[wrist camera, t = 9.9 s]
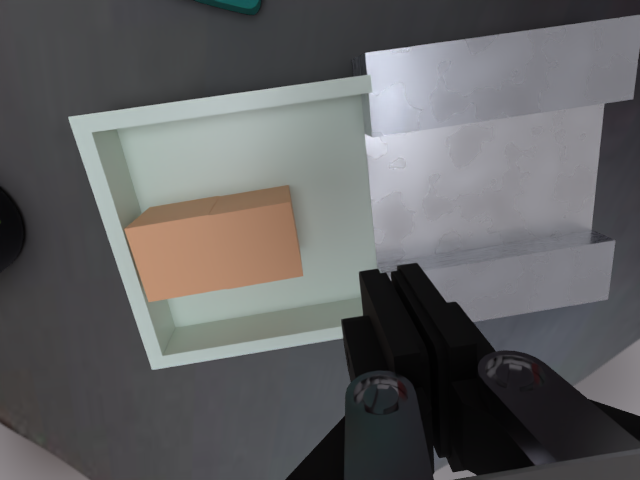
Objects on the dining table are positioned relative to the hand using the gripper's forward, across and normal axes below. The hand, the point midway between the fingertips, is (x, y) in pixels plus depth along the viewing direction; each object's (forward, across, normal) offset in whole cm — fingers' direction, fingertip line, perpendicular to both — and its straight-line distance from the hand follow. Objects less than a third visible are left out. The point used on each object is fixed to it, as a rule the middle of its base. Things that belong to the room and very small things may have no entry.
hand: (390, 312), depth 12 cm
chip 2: (+13, +5, +1) cm, 14 cm away
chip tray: (+15, +5, +1) cm, 16 cm away
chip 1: (+13, +9, +1) cm, 16 cm away
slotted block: (+15, -9, +1) cm, 18 cm away
